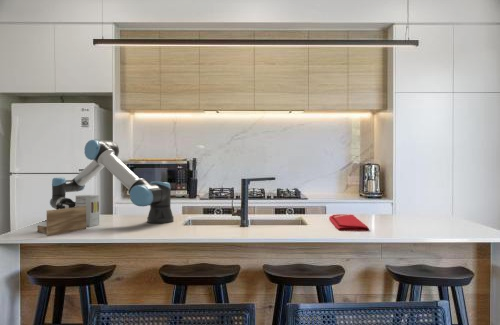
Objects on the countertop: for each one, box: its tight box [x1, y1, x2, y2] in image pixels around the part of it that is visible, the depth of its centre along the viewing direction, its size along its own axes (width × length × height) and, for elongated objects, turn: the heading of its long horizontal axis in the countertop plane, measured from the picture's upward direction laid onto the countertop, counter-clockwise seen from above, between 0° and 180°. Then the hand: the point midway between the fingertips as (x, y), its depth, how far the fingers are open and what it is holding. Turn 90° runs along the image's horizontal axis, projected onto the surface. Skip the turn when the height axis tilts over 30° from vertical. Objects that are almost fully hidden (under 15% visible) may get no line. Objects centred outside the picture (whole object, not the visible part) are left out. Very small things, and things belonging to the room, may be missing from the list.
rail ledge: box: [37, 206, 87, 237], centre depth 217 cm, size 15×22×12 cm
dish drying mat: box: [328, 213, 370, 232], centre depth 237 cm, size 16×41×4 cm, turn 176°
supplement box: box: [75, 194, 100, 228], centre depth 235 cm, size 10×9×17 cm
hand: (80, 206), depth 242 cm, fingers open, 13 cm apart
